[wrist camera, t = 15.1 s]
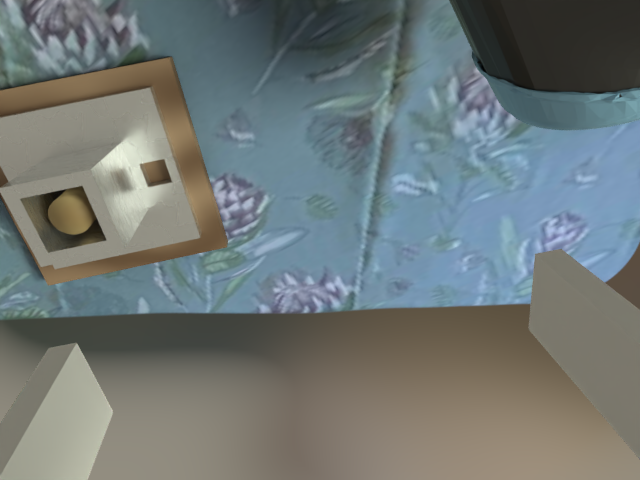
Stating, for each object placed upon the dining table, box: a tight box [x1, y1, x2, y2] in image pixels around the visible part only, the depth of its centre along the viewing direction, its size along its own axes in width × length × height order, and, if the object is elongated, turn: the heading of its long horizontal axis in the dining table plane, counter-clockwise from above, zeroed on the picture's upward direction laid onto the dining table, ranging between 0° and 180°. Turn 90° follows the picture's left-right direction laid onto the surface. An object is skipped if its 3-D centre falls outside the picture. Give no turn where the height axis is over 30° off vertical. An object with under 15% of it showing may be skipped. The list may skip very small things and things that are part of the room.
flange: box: [0, 86, 202, 269], centre depth 36 cm, size 14×14×9 cm
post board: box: [0, 57, 228, 285], centre depth 37 cm, size 18×18×10 cm
